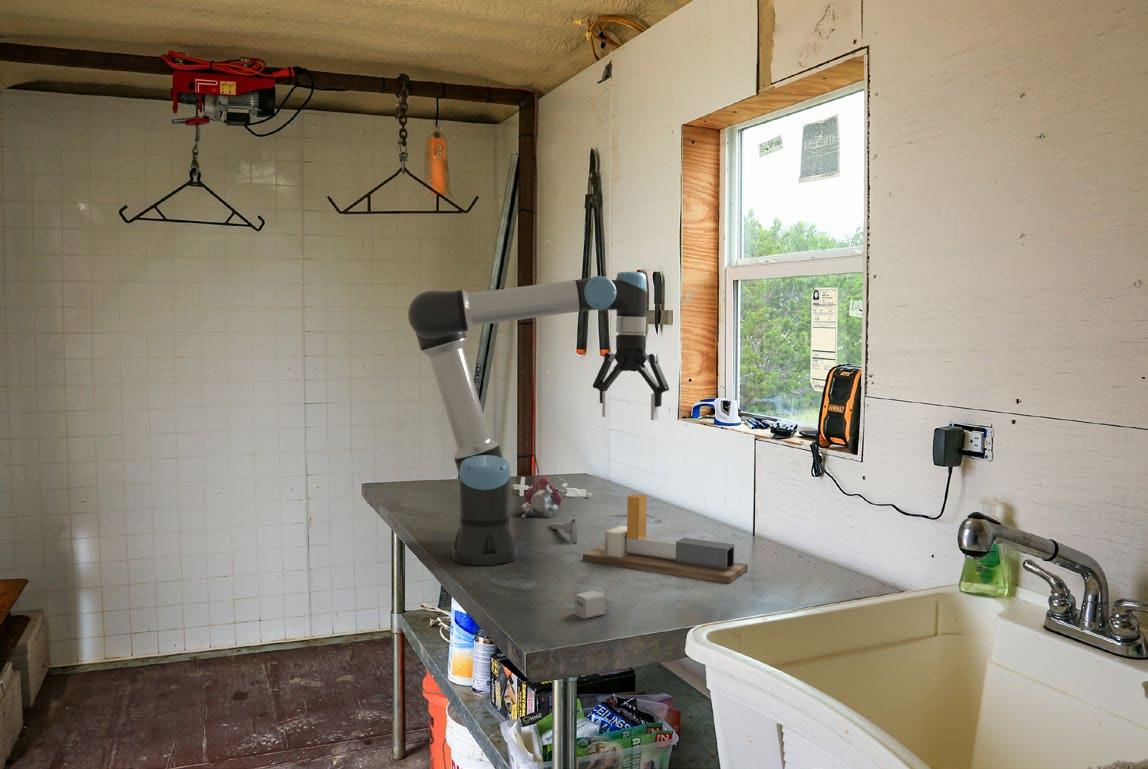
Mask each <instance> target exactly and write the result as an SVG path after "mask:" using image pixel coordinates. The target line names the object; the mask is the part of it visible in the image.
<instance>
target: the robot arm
mask: <svg viewBox="0 0 1148 769" xmlns="http://www.w3.org/2000/svg"><path fill="white" fill-rule="evenodd" d="M647 294H648V287H647V276H646V274H645V273H643V272H638V271H623V272H622V271H620V272H618V273H617V274H616V279H610V278H608V277H606V276H603V275H596V276H593V277H588V278H587V277H586V278H580V279H572V280H564V281H556V282H548V283H542V284H541V283H539V284H533V285H532V284H531V285H524V286H518V287H517V286H516V287H510V288H509V287H508V288H501V289H494V290H493V289H492V290H487V291H486V290H485V291H479V292H477V291H476V292H470V293H469V292H467V291H466V290H464V289H459V290H445V291H444V290H431V289H430V290H427V291H423V292H420V293H418V294H417V296H415V297H414V299H412V301H411V303H410V304H409V308H408V311H407V312H408V313H407V317H408V322H409V325H410V327H411V329H412V330H413V331H414V332H415V335H416V339H417V342H418V346H419V348H420V351H421V353H423V354H425V355H426V356H428V357H429V360H430V363H431V366H432V369H433V372H434V376H435V380H436V383H437V386H438V390H439V392H440V396H441V399H442V402H443V405H444V409H445V411H446V415H447V419H448V421H449V422H448V423H449V425H450V429H451V432H452V434H453V438H454V442H455V444H456V445H455V446H456V452H455V453H454V456H453V458H454V459H453V460H454V462H455V465H456V468H457V472H458V475H459V528H458V531H457V534H456V537H455V539H454V543H453V545H452V549H451V550H452V551H451V552H452V554H451V556H452V559H453V560H454V561H455V562H456V563H460V564H464V565H469V566H472V565H473V566H494V565H495V566H496V565H502V564H505V563H506V564H507V563H509V562H512V561H515V559H517V556H518V554H517V551H518V549H517V545H516V543H515V539H514V535H513V532H512V529H511V526H510V506H511V505H510V504H511V503H510V498H511V496H510V491H511V490H510V489H511V488H510V486H511V482H510V480H511V468H510V463H509V461H508V460H507V459H505V457H503V454H502V450H501V448H500V444H499V442H498V441H495V440H494V439H492V438H491V435H490V432H489V428H488V426H487V422H486V419H485V416H484V412H483V409H482V408H483V407H482V406H481V401H480V398H479V395H478V393H477V389H476V385H475V382H474V379H473V376H472V372H471V370H470V366H469V363H468V360H467V356H466V353H465V352H466V351H465V350H464V345H465V343H466V341H467V340H468V337H467V335H466V332H470V330H471V329H472V328H473V327H474V326H482V325H489V324H496V323H503V322H505V323H506V322H511V321H518V320H519V321H520V320H527V319H533V318H540V317H542V318H543V317H548V316H549V317H550V316H557V315H563V314H571V313H572V314H573V313H578V312H579V313H580V312H587V311H608V310H609V311H616V312H615V313H616V315H615V316H616V321H615V322H616V325H615V328H616V329H615V332H616V333H617V334H616V336H615V350H616V352H615V353H613V352H605V353H604V357H603V362H602V364H601V367H600V368H599V371H598V373H597V375H596V378H595V379H594V382H593V384H592V388H593V389H596V390H598V391H599V404H602V412H601V413H602V414H601V415H602V416H601V417H602V418H606V417H607V418H608V417H610V414H611V412H610V411H611V391H610V390H609V388H610V387H611V385H612V384H613V383H614V381H615V380H616V379H617V378H618V376H619V375H620V374H621V373H622V372H637V373H639V374H640V375H641V377H642V379H644V380H645V382H646V384H648V386H649V387H650V389H651V390H652V391H653V393H651V394H650V421H656V420H657V421H658V420H659V407H662V400H663V399H662V396H663V395H662V394H663V393H664V392H668V391H670V387H669V384H668V383H667V379H666V378H665V376H664V373H663V370H662V368H661V366H660V363H659V359H658V353H650V354H647V353H646V350H647V340H646V339H647V336H646V335H645V333H646V332H647V302H648V301H647V296H648V295H647ZM614 361H616V365H614V367H613V368H612V370H611V372H610V373H609V375H607V374H608V372H609V370H610V369H611V366H612V364H613V362H614ZM645 362H648V363H649V366H650V367H651V370H652V372H653V373H652V374H653V375H654V376H653V375H652V374H651V372H650V370H649V368H648V367H647V366H646V365H645ZM654 377H655V378H654Z"/></svg>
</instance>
